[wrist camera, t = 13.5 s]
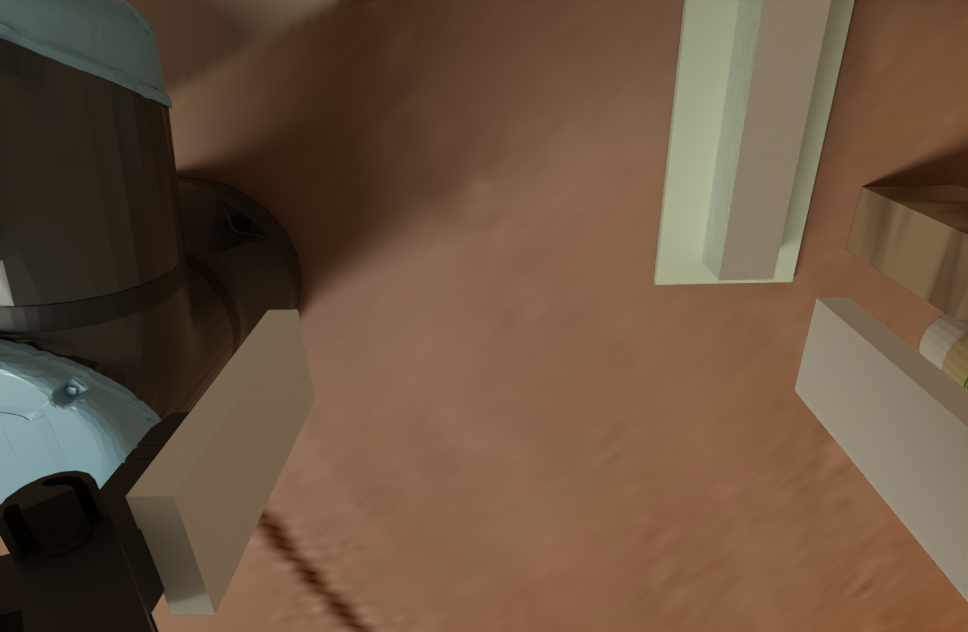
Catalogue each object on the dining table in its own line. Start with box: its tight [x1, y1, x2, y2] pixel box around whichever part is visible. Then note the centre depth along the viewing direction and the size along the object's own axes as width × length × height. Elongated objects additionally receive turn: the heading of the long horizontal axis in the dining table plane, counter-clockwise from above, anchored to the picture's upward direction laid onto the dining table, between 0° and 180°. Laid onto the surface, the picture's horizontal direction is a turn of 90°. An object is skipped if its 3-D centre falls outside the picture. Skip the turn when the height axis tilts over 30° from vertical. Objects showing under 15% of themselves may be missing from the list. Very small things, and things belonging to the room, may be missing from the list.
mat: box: [654, 0, 855, 285], centre depth 42 cm, size 11×28×1 cm, turn 2°
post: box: [846, 184, 968, 320], centre depth 41 cm, size 7×5×12 cm
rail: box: [701, 0, 831, 281], centre depth 40 cm, size 24×4×4 cm, turn 2°
